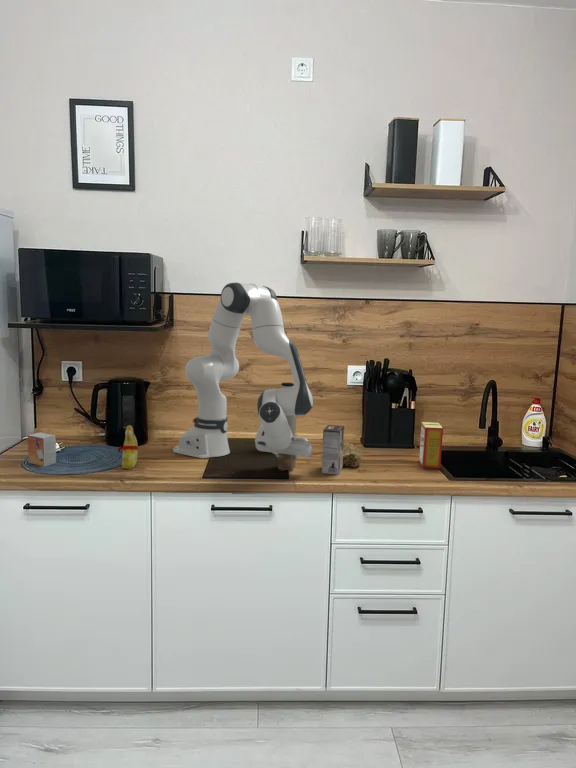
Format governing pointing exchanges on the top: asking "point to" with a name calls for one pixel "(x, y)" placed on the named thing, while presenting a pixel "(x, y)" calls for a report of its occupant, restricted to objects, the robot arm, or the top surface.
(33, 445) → the small box
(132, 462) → the chocolate bunny
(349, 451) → the sponge
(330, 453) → the coffee box
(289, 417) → the thermos bottle
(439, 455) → the baking soda box
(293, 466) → the walnut block
